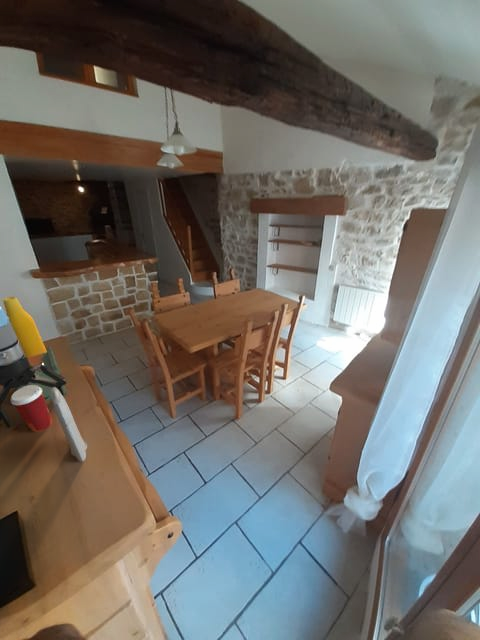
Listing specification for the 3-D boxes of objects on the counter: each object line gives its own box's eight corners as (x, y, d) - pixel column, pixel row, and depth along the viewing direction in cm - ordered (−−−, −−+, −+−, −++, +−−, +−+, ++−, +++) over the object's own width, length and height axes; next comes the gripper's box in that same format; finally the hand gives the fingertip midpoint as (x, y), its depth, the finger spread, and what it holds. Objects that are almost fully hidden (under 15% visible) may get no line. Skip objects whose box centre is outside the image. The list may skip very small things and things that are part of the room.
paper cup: (60, 413, 86) (45, 382, 80) (49, 432, 79) (32, 400, 73) (34, 417, 85) (18, 385, 78) (21, 436, 78) (2, 403, 72)
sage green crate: (27, 408, 88) (12, 379, 82) (24, 384, 99) (11, 357, 93) (67, 393, 95) (55, 365, 89) (60, 372, 106) (50, 346, 100)
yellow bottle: (49, 357, 115) (25, 298, 102) (24, 365, 109) (-6, 305, 96) (45, 349, 121) (22, 292, 108) (21, 356, 115) (-7, 298, 102)
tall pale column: (91, 458, 72) (67, 401, 62) (75, 467, 70) (47, 409, 60) (83, 433, 79) (61, 379, 69) (68, 441, 77) (42, 385, 67)
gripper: (-59, 386, 60) (-17, 444, 70) (62, 348, 75) (83, 401, 84) (-54, 370, 66) (-16, 427, 75) (58, 338, 80) (79, 389, 89)
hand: (37, 413), depth 80 cm, fingers open, 13 cm apart
